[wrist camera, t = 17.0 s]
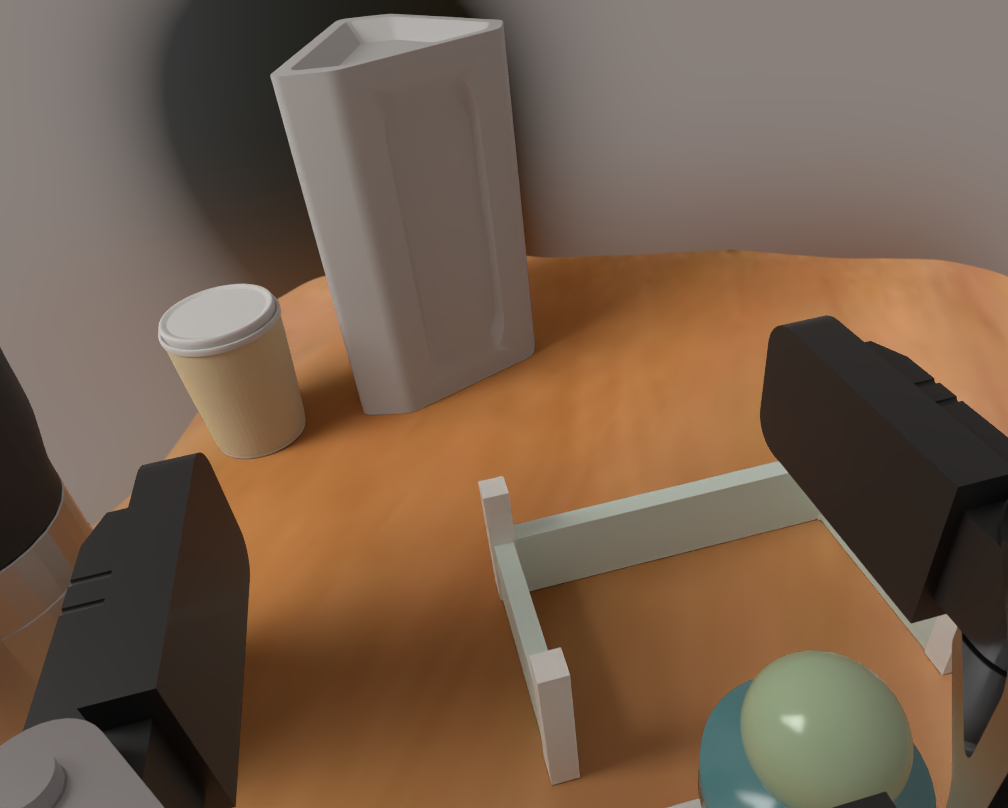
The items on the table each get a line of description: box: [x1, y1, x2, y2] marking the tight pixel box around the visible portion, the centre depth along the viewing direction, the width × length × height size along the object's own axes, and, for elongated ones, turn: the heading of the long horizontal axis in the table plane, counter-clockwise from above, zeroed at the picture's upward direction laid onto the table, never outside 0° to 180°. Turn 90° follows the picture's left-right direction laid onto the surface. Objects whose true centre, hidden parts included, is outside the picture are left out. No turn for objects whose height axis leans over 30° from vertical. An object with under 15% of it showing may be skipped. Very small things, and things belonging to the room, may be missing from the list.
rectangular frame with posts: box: [478, 461, 957, 785], centre depth 43 cm, size 14×24×9 cm, turn 103°
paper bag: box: [271, 14, 535, 415], centre depth 64 cm, size 19×15×28 cm
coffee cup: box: [158, 284, 306, 459], centre depth 62 cm, size 9×9×12 cm
